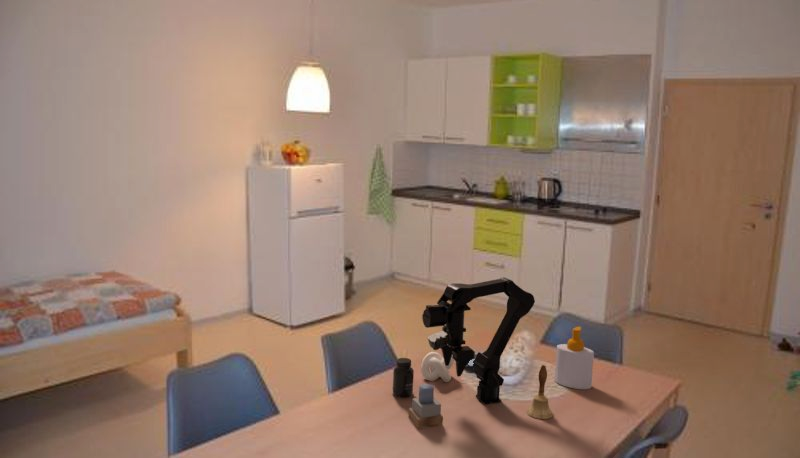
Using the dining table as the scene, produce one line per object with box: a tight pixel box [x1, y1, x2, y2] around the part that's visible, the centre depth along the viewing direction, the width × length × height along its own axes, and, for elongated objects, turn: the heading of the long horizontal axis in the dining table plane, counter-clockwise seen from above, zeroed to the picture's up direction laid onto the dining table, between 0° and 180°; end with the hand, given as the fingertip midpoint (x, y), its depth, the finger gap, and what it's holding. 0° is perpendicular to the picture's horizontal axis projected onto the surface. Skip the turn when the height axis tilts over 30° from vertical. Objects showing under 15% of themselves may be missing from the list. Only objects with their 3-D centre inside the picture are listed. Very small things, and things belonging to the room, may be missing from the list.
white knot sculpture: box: [420, 351, 455, 383], centre depth 228 cm, size 11×12×9 cm
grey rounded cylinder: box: [418, 383, 435, 404], centre depth 194 cm, size 4×4×4 cm
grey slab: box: [411, 397, 442, 418], centre depth 195 cm, size 6×6×4 cm
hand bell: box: [526, 364, 554, 420], centre depth 202 cm, size 8×8×16 cm
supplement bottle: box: [392, 357, 415, 399], centre depth 214 cm, size 7×7×12 cm
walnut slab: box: [408, 407, 444, 430], centre depth 196 cm, size 8×8×4 cm
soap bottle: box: [554, 326, 595, 390], centre depth 225 cm, size 13×8×20 cm, turn 58°
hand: (452, 370), depth 205 cm, fingers open, 9 cm apart
